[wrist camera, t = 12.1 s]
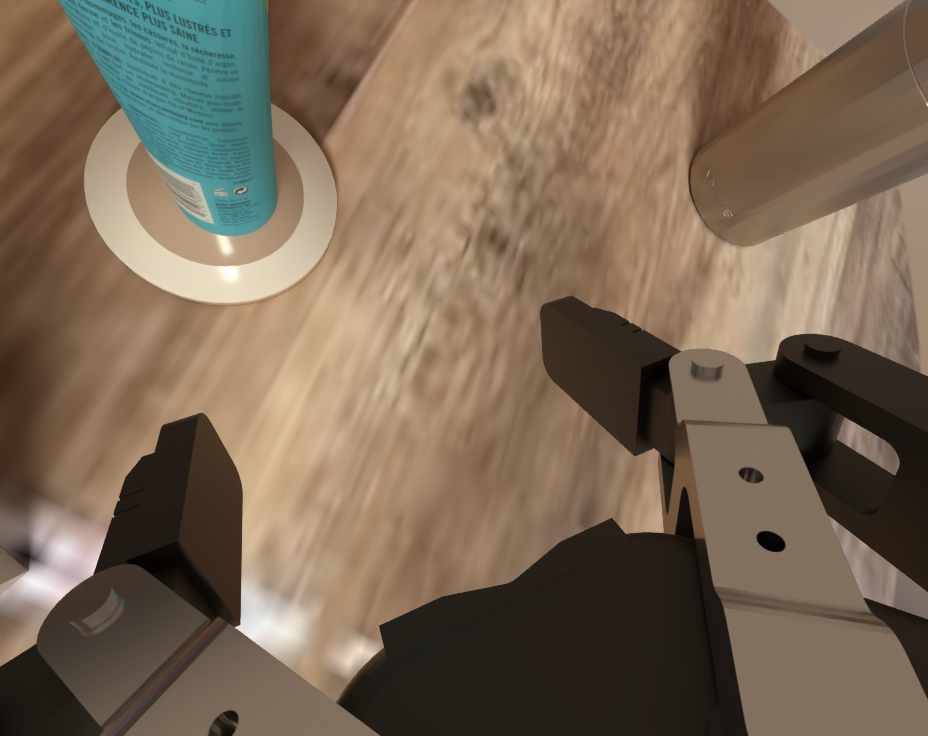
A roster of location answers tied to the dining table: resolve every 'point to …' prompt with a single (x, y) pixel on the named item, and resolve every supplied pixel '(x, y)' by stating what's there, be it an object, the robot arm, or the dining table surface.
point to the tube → (193, 98)
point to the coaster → (196, 250)
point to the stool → (9, 570)
